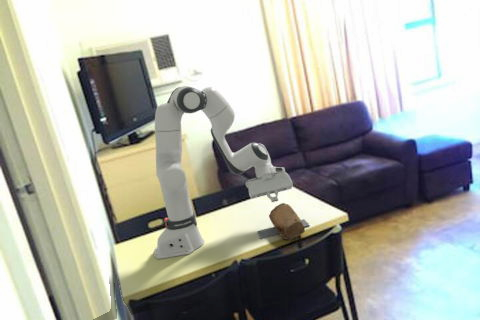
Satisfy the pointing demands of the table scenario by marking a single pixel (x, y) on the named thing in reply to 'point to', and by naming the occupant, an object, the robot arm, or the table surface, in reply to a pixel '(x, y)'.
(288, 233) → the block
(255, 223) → the table surface
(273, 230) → the mat
